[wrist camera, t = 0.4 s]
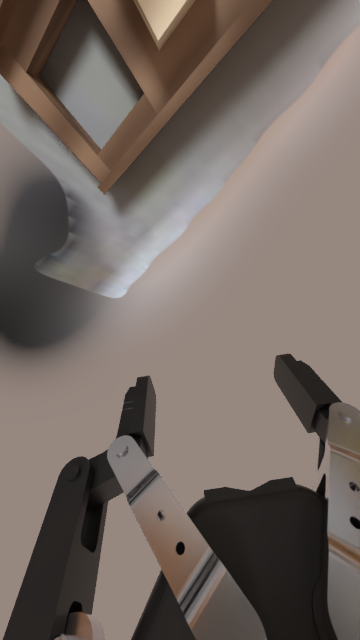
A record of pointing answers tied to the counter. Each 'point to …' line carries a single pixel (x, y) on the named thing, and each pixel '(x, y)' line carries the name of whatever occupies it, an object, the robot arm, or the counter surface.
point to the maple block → (162, 16)
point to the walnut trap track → (140, 56)
